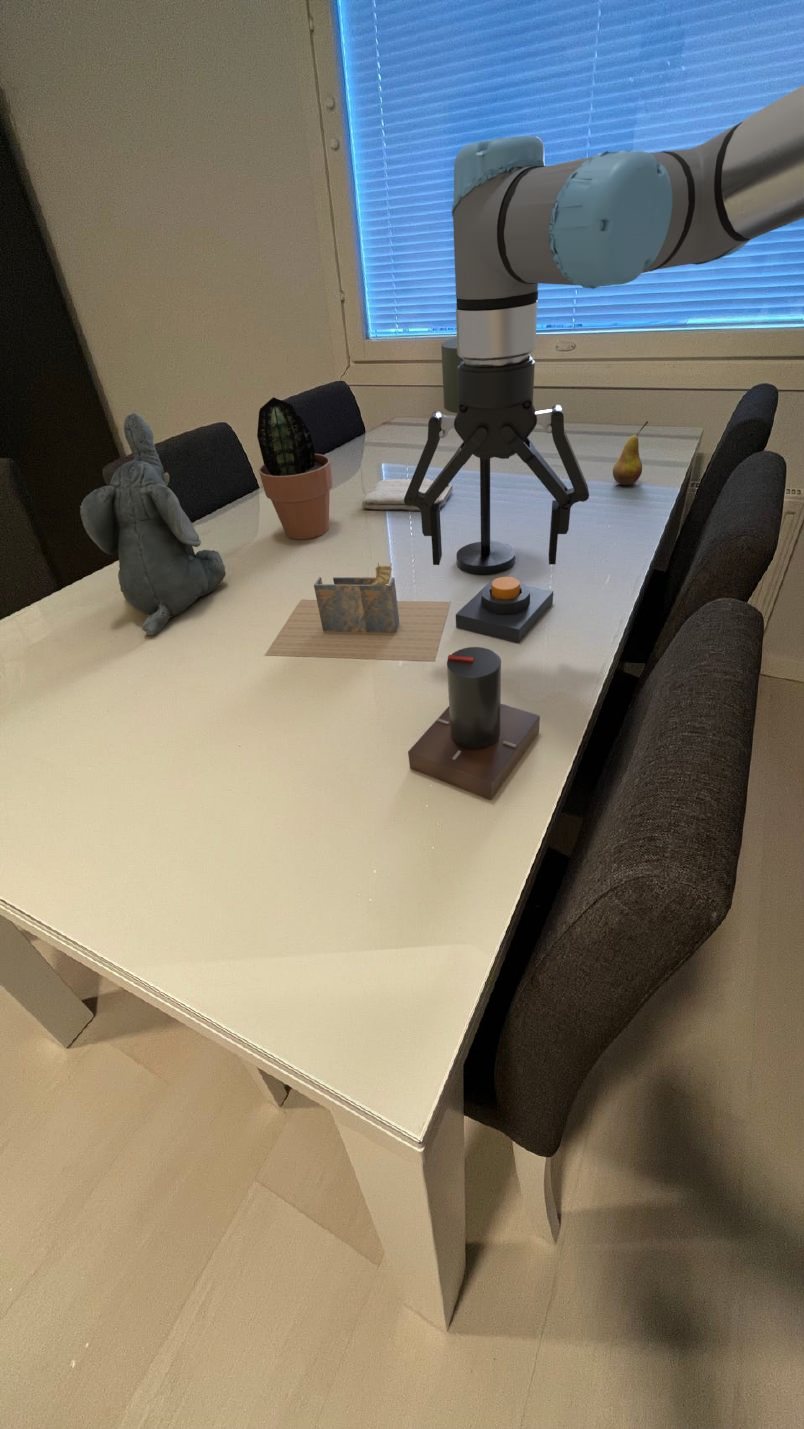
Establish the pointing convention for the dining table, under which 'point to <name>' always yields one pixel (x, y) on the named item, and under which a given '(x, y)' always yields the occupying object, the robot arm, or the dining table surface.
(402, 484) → the washcloth
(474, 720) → the dimmer knob
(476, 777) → the dimmer panel
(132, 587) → the stuffed elephant
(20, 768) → the dining table surface
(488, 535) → the desk lamp
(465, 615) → the switch box
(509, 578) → the button
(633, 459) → the fruit
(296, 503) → the potted plant
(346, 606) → the architectural model on board
